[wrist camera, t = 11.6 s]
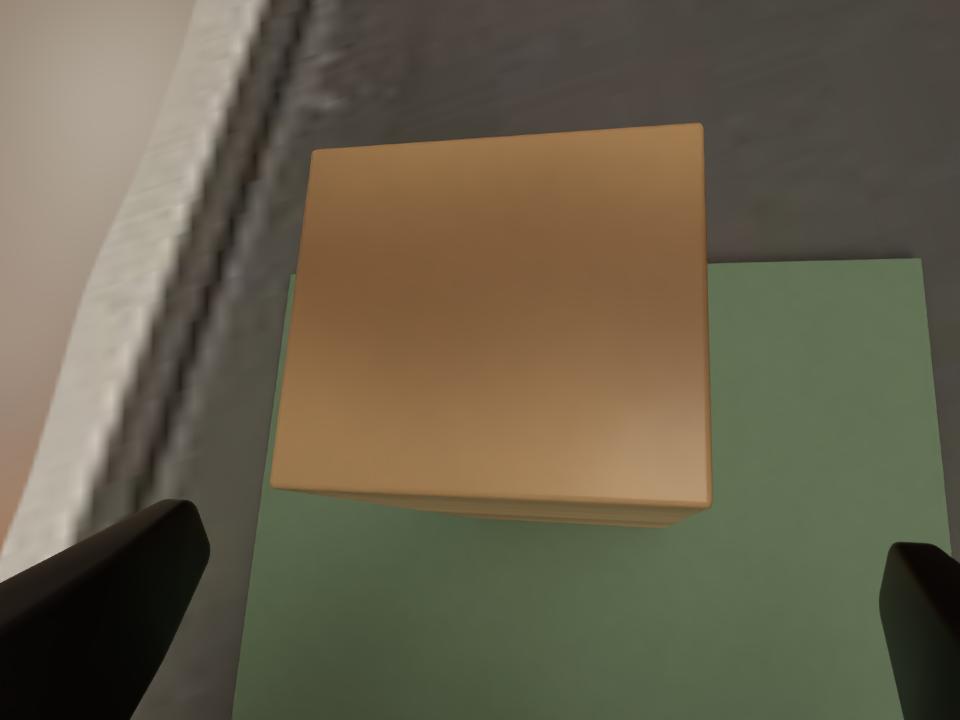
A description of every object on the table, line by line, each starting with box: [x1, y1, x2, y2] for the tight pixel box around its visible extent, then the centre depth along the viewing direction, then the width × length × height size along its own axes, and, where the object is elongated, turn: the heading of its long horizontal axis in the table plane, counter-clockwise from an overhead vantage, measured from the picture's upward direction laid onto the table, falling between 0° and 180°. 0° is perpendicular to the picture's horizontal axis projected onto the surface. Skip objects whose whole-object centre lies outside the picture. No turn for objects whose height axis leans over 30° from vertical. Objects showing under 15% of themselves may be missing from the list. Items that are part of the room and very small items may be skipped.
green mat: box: [231, 258, 952, 720], centre depth 21 cm, size 15×20×1 cm
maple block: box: [270, 123, 713, 529], centre depth 15 cm, size 5×6×12 cm
